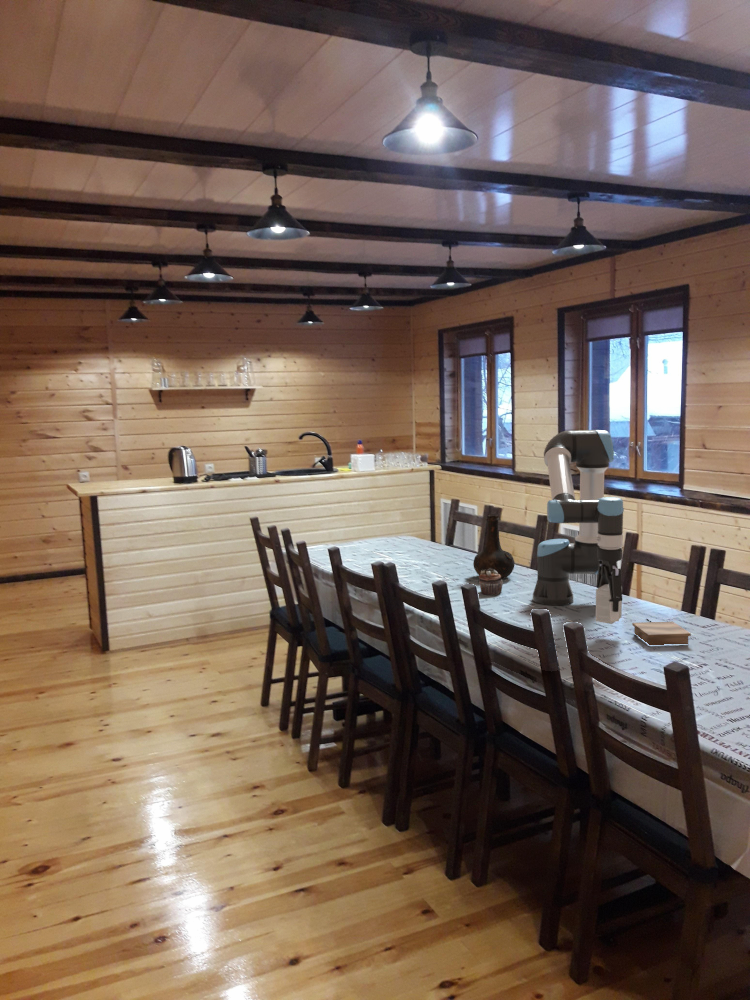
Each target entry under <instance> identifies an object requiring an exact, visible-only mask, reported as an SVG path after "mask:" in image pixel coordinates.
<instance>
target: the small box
mask: <svg viewBox="0 0 750 1000" xmlns="http://www.w3.org/2000/svg"><path fill="white" fill-rule="evenodd" d="M610 599H611V595H610V589H609V584H605V585H603V586H601V587H600V588H596V589H595V622H597V623H603V624H608V625H609V624H610V625H613V624H615V623H616V622H617V621H612V622H610V621H609V618H610V602H609V600H610ZM622 605H623V600H622V601H619V620H620V619H621V618H622V610H623V608H622V607H623V606H622Z"/></svg>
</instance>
